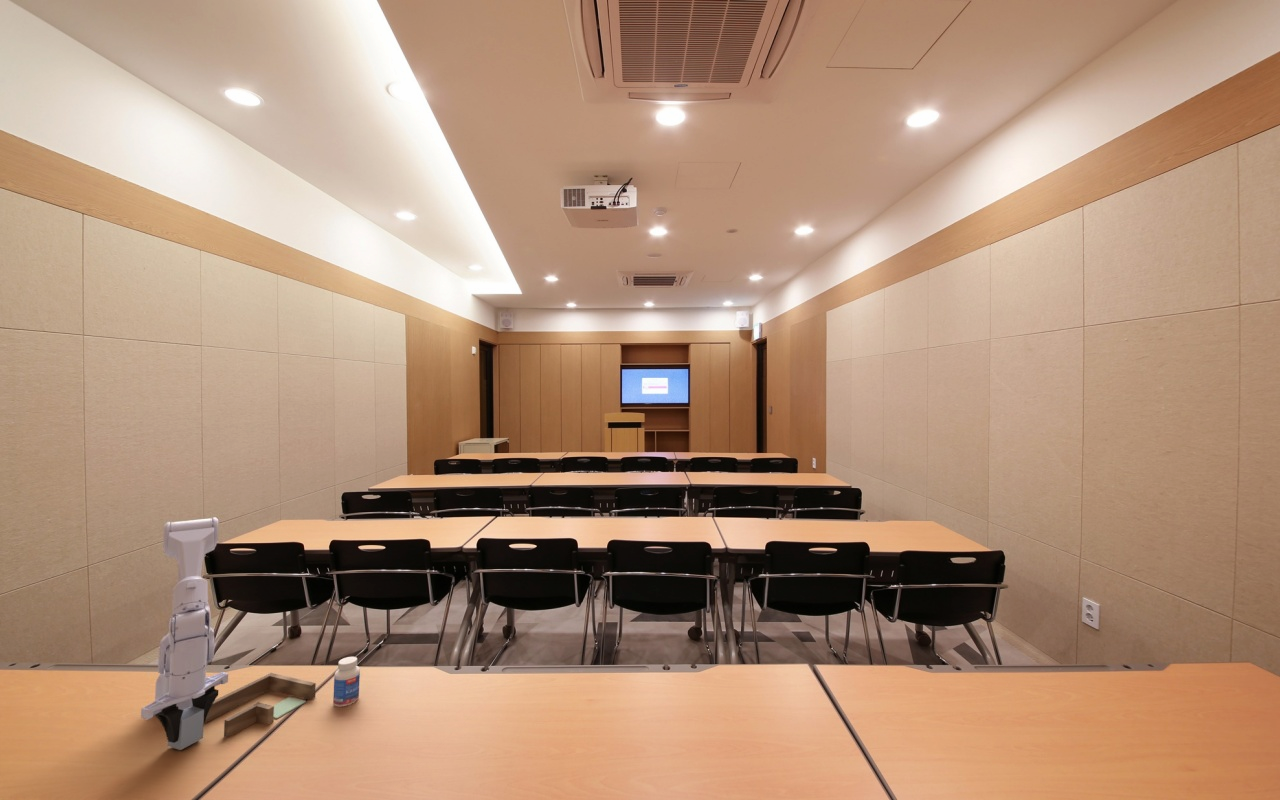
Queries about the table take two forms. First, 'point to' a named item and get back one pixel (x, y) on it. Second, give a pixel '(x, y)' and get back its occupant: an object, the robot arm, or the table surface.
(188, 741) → the block
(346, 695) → the pill bottle
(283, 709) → the pad
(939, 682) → the table surface
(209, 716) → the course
